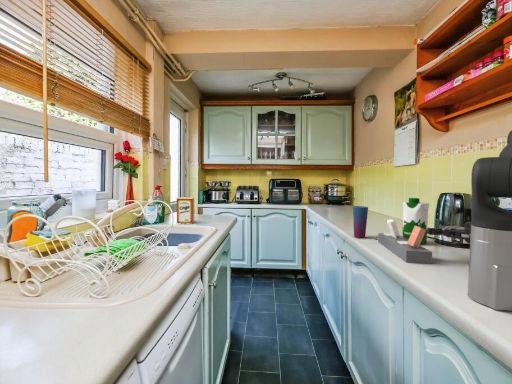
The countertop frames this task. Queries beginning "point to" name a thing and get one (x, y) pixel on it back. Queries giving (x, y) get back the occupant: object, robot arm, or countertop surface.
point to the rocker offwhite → (393, 228)
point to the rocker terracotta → (416, 236)
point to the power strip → (405, 249)
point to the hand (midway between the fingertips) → (428, 231)
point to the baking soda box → (185, 210)
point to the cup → (360, 221)
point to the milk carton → (415, 217)
